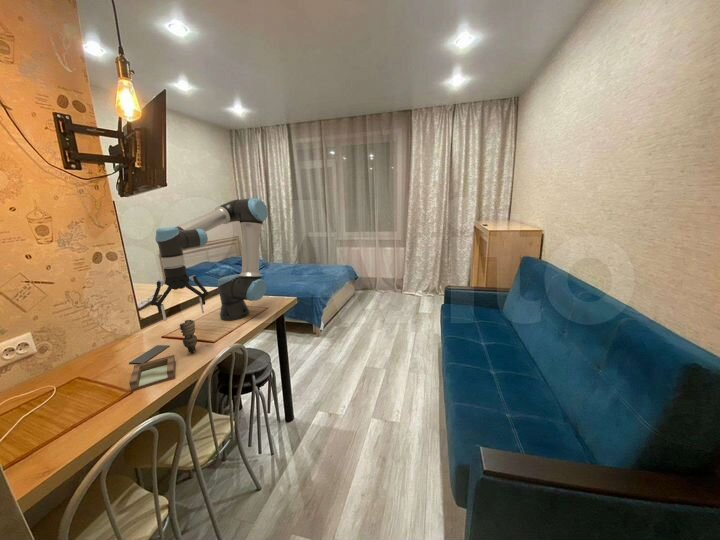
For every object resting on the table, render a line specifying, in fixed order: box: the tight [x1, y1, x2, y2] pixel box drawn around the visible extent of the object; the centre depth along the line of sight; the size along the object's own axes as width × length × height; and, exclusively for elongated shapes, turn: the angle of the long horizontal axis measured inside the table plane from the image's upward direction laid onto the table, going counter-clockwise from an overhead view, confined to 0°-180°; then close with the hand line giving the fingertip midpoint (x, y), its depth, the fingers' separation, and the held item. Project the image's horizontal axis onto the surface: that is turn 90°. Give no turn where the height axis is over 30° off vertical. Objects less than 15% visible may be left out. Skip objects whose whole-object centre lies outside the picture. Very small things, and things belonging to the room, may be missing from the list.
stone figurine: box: [179, 319, 198, 354], centre depth 123 cm, size 6×6×15 cm
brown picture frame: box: [128, 354, 177, 392], centre depth 109 cm, size 13×13×4 cm
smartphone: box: [128, 344, 171, 365], centre depth 125 cm, size 7×1×15 cm
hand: (184, 316), depth 120 cm, fingers open, 13 cm apart
